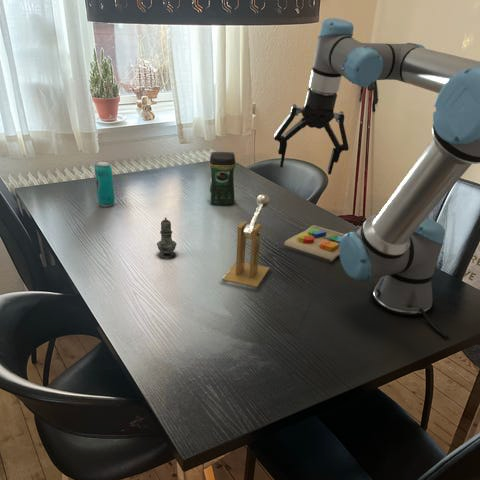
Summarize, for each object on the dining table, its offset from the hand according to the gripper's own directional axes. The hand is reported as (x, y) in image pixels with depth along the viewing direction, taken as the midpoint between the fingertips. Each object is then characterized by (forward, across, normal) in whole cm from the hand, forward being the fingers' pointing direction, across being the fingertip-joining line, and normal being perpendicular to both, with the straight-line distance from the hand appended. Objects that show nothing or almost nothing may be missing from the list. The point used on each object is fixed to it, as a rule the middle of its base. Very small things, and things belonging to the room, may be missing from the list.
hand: (305, 168), depth 140 cm
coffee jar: (+35, +24, -36) cm, 55 cm away
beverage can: (+37, +65, -26) cm, 79 cm away
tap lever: (+11, +12, +13) cm, 20 cm away
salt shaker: (+29, +36, +10) cm, 48 cm away
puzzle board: (+27, -11, -3) cm, 29 cm away
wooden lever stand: (+25, +12, +21) cm, 35 cm away
